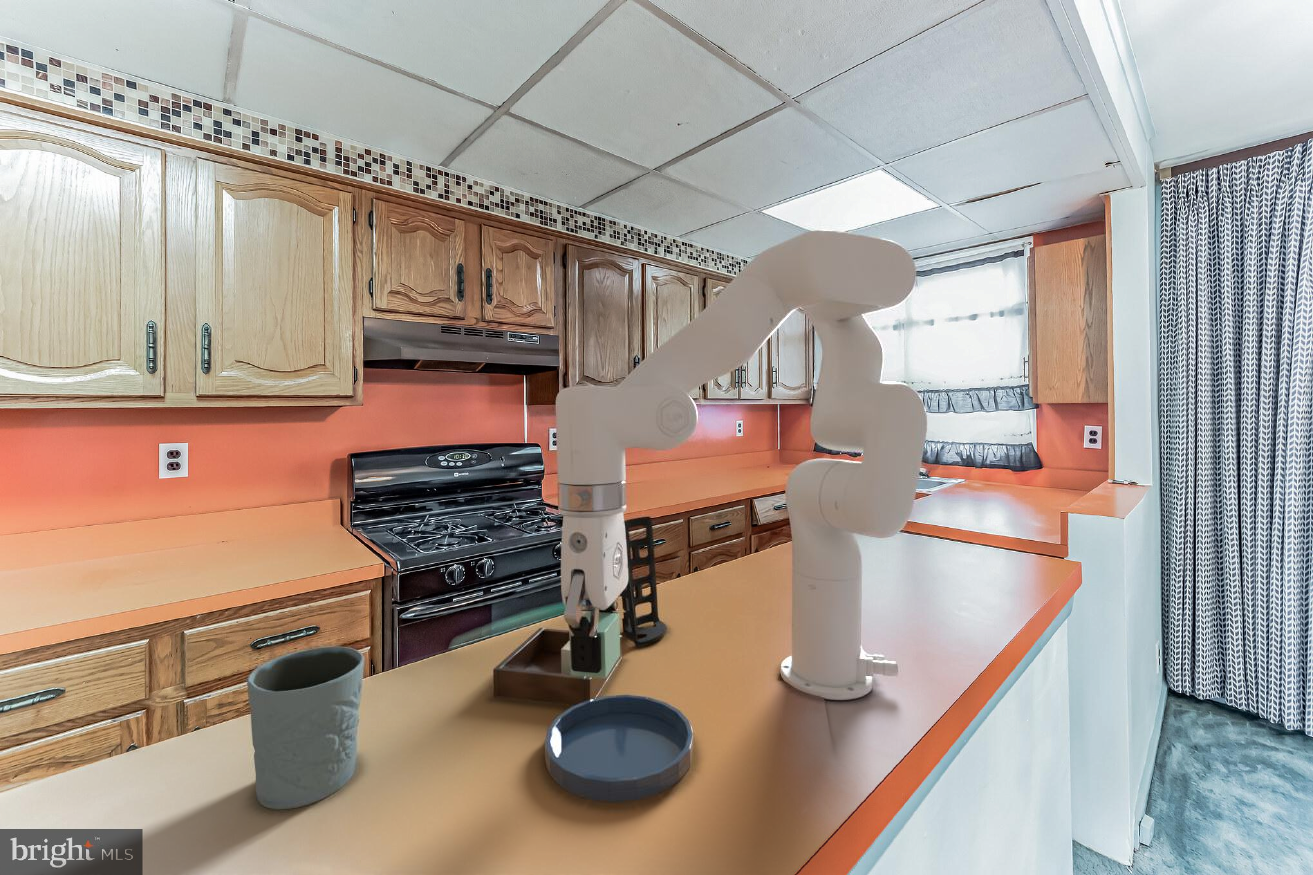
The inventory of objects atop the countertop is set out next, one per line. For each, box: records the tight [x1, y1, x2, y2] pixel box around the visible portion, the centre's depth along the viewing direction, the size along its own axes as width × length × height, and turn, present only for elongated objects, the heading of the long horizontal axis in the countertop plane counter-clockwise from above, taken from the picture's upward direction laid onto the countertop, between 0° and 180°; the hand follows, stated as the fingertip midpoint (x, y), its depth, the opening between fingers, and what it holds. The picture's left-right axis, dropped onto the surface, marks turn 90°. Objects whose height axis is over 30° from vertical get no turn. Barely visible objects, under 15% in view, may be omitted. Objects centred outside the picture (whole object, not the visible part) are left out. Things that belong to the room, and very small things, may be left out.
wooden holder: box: [492, 627, 623, 707], centre depth 77 cm, size 14×15×4 cm
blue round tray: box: [544, 694, 695, 803], centre depth 60 cm, size 16×16×2 cm
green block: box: [570, 611, 621, 678], centre depth 60 cm, size 4×6×5 cm
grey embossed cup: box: [246, 645, 365, 811], centre depth 55 cm, size 10×10×12 cm
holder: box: [619, 516, 668, 648], centre depth 93 cm, size 11×8×20 cm
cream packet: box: [561, 640, 571, 675], centre depth 76 cm, size 4×6×5 cm
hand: (596, 655), depth 60 cm, fingers closed on green block, 5 cm apart
